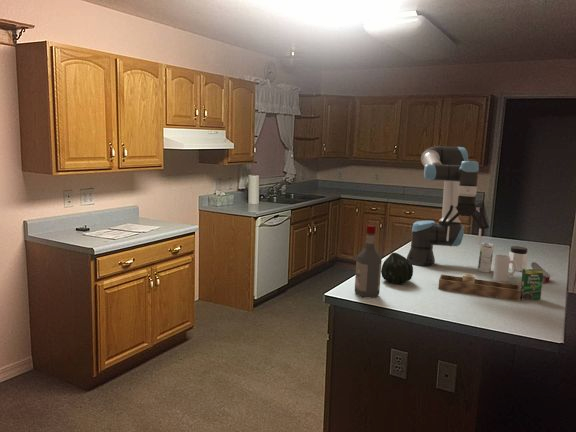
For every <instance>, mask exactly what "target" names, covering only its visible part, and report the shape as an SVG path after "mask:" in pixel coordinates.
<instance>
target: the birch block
mask: <svg viewBox="0 0 576 432" xmlns="http://www.w3.org/2000/svg"><path fill="white" fill-rule="evenodd" d="M462 277H463V280H462V282H464V283H472V284H474V281H475V279H476V274H471V273H465V272H464V273H463V274H462Z"/></svg>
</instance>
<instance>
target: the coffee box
mask: <svg viewBox="0 0 576 432" xmlns="http://www.w3.org/2000/svg"><path fill="white" fill-rule="evenodd" d="M521 272H522V273H521V282H520V283H521V284H520V288H521V296H520V299H522V300H538V301H539V300H541V298H542V287H543V283H542V279H543V270H541V269H533V268H528V269H527V268H526V269H523V270H522V271H521Z"/></svg>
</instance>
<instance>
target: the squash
mask: <svg viewBox="0 0 576 432" xmlns="http://www.w3.org/2000/svg"><path fill="white" fill-rule="evenodd" d="M413 274H414V266H413V264H412V263H411V262H410V261H409V260H408V259H407V257H405V256H403V255H402V254H400V253H397V252H391V253H390V255H388V257H386V259H385V260H384V261H383V263H382V264H381V278H382V279H383V280H385V281H386V282H388V283H389V284H390V283H391V284H393V283H394V284H395V285H398V284H400V285H405V284H406V282H409V281H411V280H412V277H413Z"/></svg>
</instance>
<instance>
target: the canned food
mask: <svg viewBox="0 0 576 432" xmlns="http://www.w3.org/2000/svg"><path fill="white" fill-rule="evenodd" d="M530 266H531V269H541V270H543V279H542V284H547V283H548V284H549V283H550V277H551V276H550V274H549V272H547V271H546V270H545V269H544V268H542V267H541V265H539V264H538V263H537V262H536V261H535V262H534V261H532V262H531V264H530Z"/></svg>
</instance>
